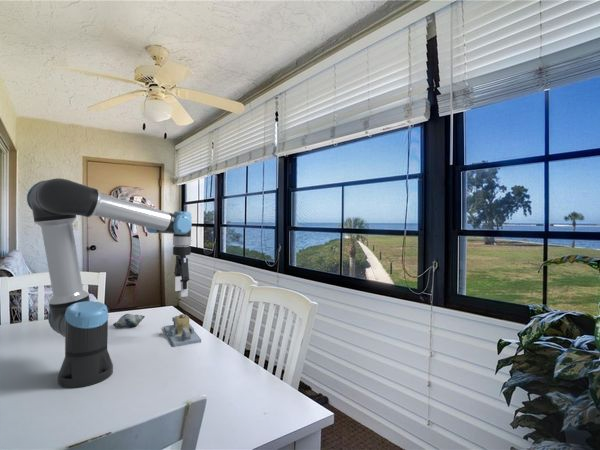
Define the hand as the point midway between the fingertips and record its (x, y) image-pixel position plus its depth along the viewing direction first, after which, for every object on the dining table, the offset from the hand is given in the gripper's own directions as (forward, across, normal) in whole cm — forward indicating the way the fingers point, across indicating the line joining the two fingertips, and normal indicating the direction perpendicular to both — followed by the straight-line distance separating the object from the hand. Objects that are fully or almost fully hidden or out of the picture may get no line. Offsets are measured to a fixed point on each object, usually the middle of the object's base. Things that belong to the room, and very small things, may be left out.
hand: (181, 293), depth 149 cm
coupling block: (+18, 0, -1) cm, 18 cm away
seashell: (+19, +24, +19) cm, 36 cm away
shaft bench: (+19, 0, -1) cm, 19 cm away
